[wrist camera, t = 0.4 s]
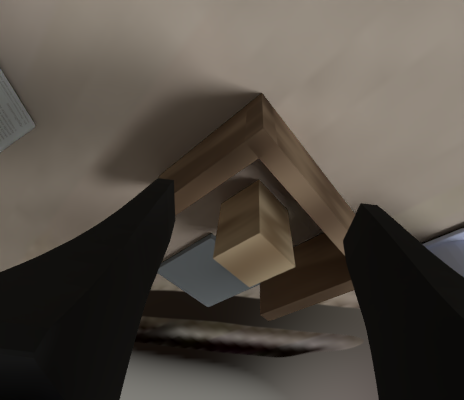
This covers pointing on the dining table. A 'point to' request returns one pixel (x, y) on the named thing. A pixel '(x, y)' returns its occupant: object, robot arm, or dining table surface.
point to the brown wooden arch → (296, 183)
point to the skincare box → (12, 115)
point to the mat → (202, 273)
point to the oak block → (254, 236)
